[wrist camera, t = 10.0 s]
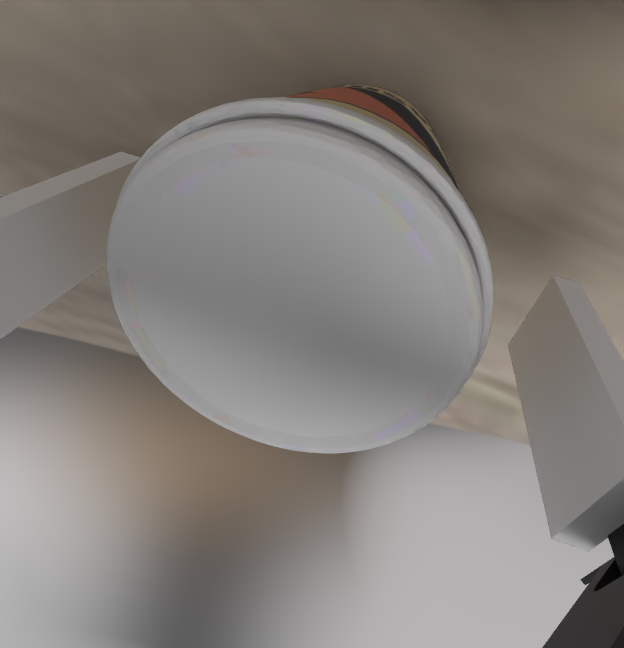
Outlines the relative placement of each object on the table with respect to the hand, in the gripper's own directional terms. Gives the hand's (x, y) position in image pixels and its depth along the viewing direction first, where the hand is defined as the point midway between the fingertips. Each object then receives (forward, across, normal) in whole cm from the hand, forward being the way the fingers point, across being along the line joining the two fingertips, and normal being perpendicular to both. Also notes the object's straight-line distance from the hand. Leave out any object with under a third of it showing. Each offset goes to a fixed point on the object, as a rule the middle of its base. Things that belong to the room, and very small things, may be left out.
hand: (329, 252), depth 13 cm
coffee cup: (+8, 0, 0) cm, 8 cm away
